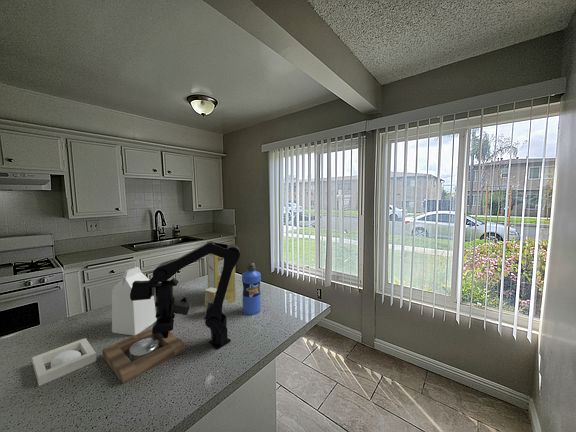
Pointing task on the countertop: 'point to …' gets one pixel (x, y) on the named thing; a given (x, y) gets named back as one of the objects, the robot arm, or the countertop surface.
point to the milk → (131, 306)
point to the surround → (133, 369)
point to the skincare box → (209, 296)
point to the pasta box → (214, 275)
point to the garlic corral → (65, 368)
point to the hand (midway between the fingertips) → (166, 337)
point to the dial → (145, 346)
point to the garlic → (64, 357)
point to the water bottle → (251, 290)
